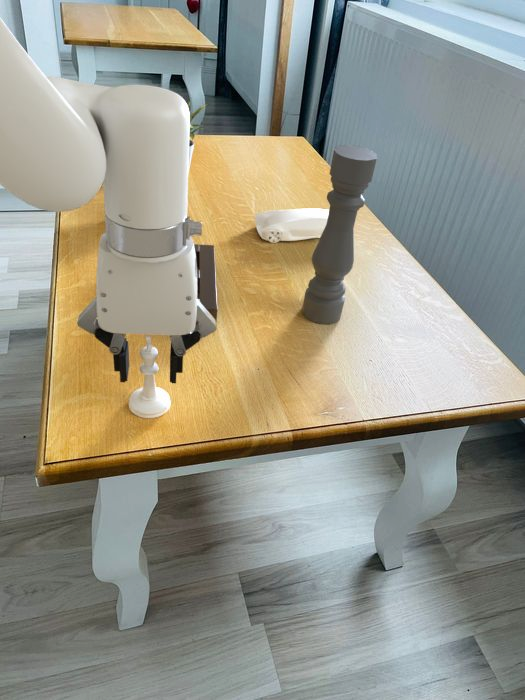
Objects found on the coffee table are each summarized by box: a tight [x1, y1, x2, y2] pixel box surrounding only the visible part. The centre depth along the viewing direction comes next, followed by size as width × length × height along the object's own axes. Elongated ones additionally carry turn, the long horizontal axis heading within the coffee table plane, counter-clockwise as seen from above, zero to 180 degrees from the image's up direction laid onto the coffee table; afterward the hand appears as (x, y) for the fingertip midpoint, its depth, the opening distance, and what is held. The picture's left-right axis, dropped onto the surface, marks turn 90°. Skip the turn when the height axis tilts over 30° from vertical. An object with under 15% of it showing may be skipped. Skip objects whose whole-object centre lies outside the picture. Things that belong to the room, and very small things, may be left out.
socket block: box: [194, 243, 218, 325], centre depth 86 cm, size 11×19×3 cm, turn 5°
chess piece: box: [128, 335, 171, 419], centre depth 63 cm, size 5×5×10 cm
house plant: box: [181, 94, 210, 173], centre depth 121 cm, size 14×14×16 cm
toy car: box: [254, 207, 329, 244], centre depth 106 cm, size 18×8×4 cm, turn 102°
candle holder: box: [301, 144, 378, 325], centre depth 79 cm, size 6×6×25 cm
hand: (149, 373), depth 64 cm, fingers open, 4 cm apart
